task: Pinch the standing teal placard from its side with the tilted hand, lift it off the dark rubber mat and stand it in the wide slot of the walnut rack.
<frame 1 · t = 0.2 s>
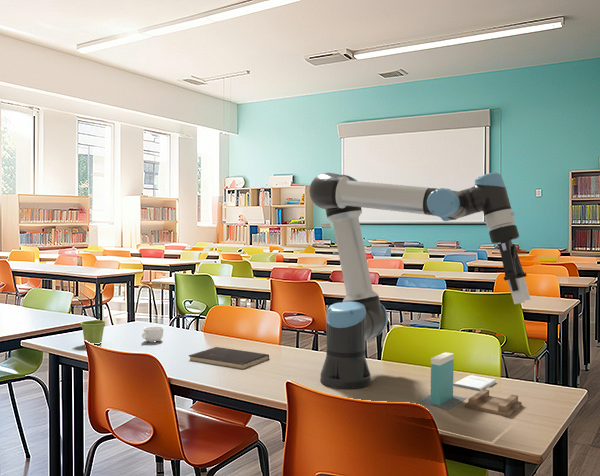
hand: (522, 301, 151), 26 cm above the table, tool tilted 15°, fingers open, 13 cm apart
rack: (493, 407, 144), on the table
mat: (441, 401, 148), on the table
hardcover book: (229, 361, 193), on the table
plant pot: (93, 344, 216), on the table
teacup: (151, 342, 221), on the table
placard: (442, 400, 148), resting on mat
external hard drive: (474, 387, 164), on the table
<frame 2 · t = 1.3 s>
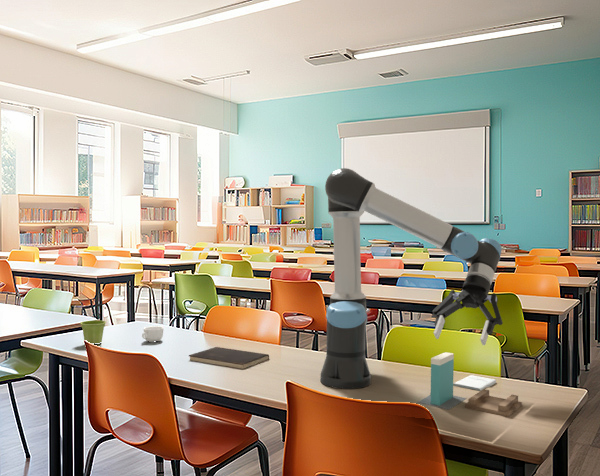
hand: (458, 339, 156), 15 cm above the table, tool tilted 45°, fingers open, 13 cm apart
nothing on the table moved.
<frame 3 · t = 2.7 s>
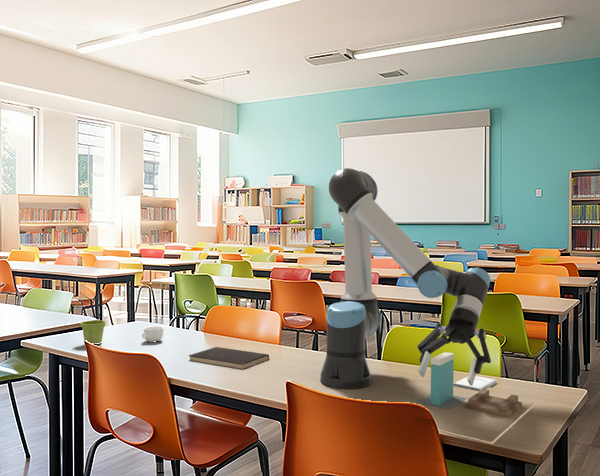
hand: (444, 378, 147), 7 cm above the table, tool tilted 45°, fingers open, 13 cm apart
nothing on the table moved.
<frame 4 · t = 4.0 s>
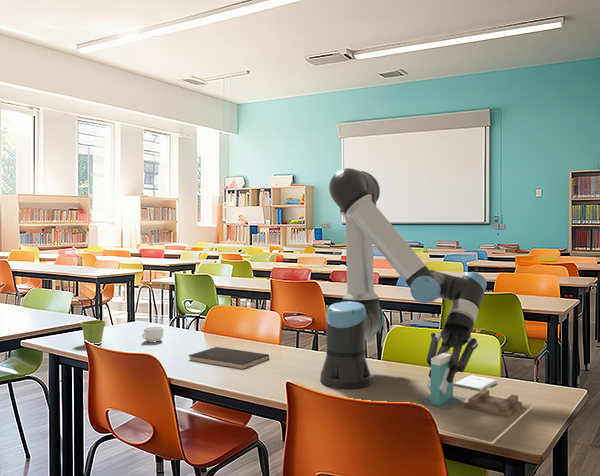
hand: (436, 390, 145), 4 cm above the table, tool tilted 45°, fingers closed on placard, 2 cm apart
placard: (442, 400, 148), resting on mat, touching gripper
everything else where it was.
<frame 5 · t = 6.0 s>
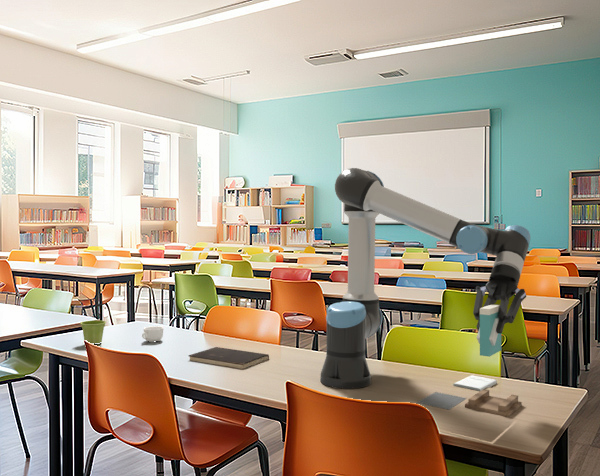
hand: (485, 341, 140), 18 cm above the table, tool tilted 45°, fingers closed on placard, 2 cm apart
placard: (490, 352, 144), point 14 cm above the table, touching gripper
everything else where it was.
when the fingers open (6 cm above the table, at t = 7.9 s): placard stays where it is, resting on rack.
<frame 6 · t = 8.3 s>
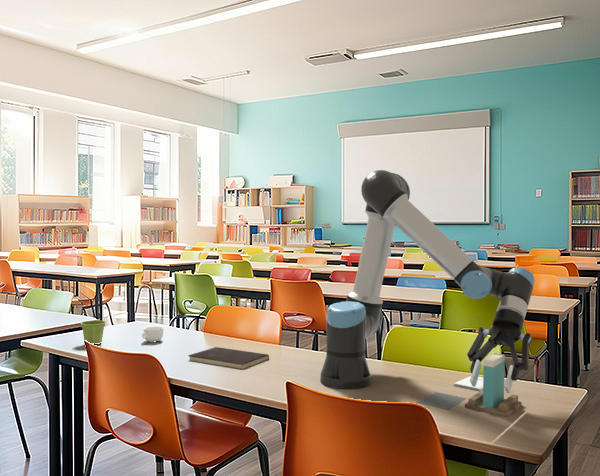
hand: (489, 386, 141), 6 cm above the table, tool tilted 45°, fingers open, 8 cm apart
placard: (493, 403, 144), point 1 cm above the table, touching rack
everything else where it was.
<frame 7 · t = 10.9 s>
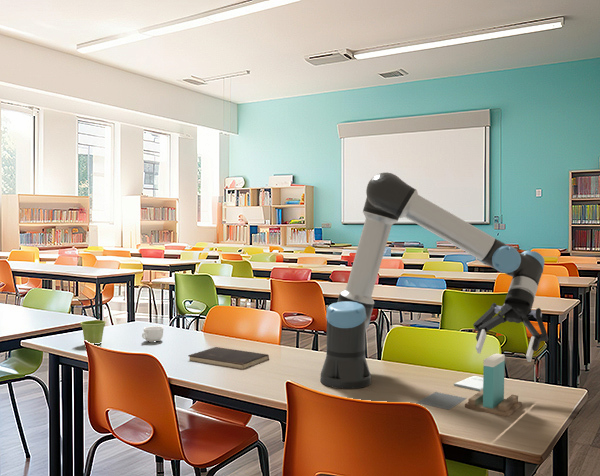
hand: (502, 354, 151), 12 cm above the table, tool tilted 45°, fingers open, 13 cm apart
nothing on the table moved.
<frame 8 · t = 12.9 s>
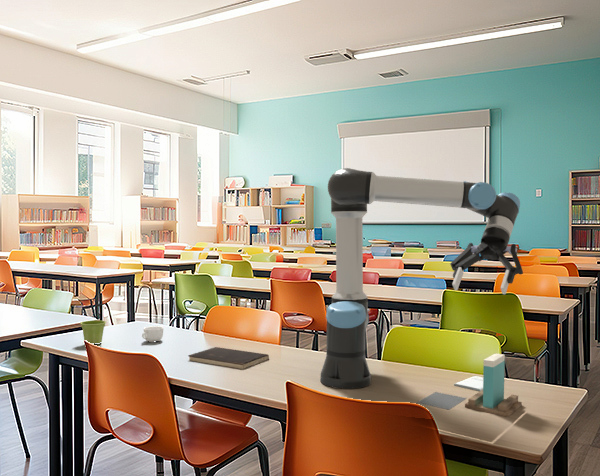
hand: (478, 289, 153), 30 cm above the table, tool tilted 45°, fingers open, 13 cm apart
nothing on the table moved.
at the end: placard inside the target area on the rack (0.0 cm from its centre), point 1.2 cm above the rack's base; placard tilted 0°; the gripper is holding nothing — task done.
